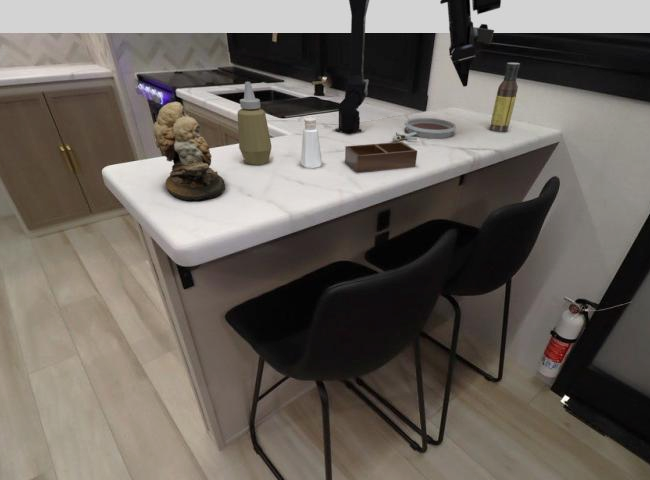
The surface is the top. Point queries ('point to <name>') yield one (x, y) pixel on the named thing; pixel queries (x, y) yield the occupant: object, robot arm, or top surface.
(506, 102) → the sauce bottle
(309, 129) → the pepper shaker
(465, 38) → the robot arm
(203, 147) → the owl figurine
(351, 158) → the divided wooden tray
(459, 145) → the top surface
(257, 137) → the squeeze bottle
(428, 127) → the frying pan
